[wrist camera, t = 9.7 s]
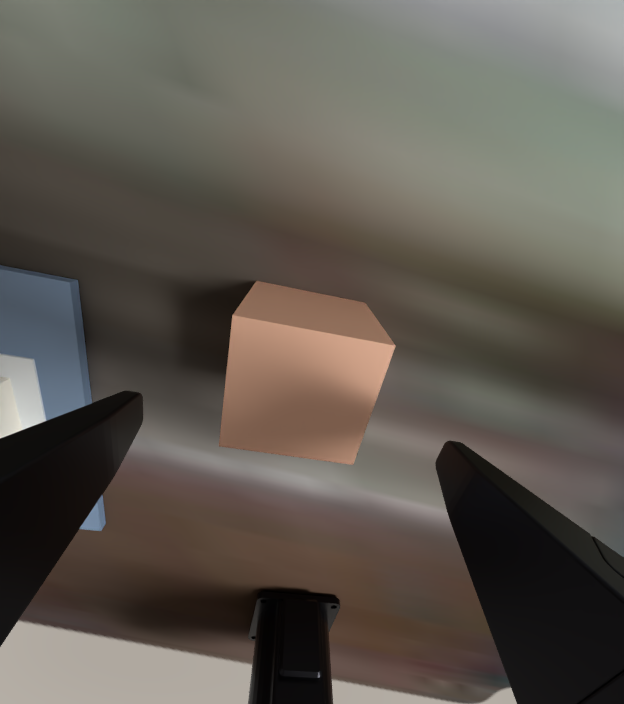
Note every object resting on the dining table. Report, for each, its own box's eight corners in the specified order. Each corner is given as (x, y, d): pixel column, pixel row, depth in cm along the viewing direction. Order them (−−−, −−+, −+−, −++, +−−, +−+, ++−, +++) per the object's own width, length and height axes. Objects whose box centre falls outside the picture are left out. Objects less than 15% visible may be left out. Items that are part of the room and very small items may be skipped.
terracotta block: (338, 392, 16) (353, 465, 11) (244, 376, 15) (218, 446, 11) (365, 302, 14) (395, 345, 9) (256, 280, 13) (232, 315, 9)
